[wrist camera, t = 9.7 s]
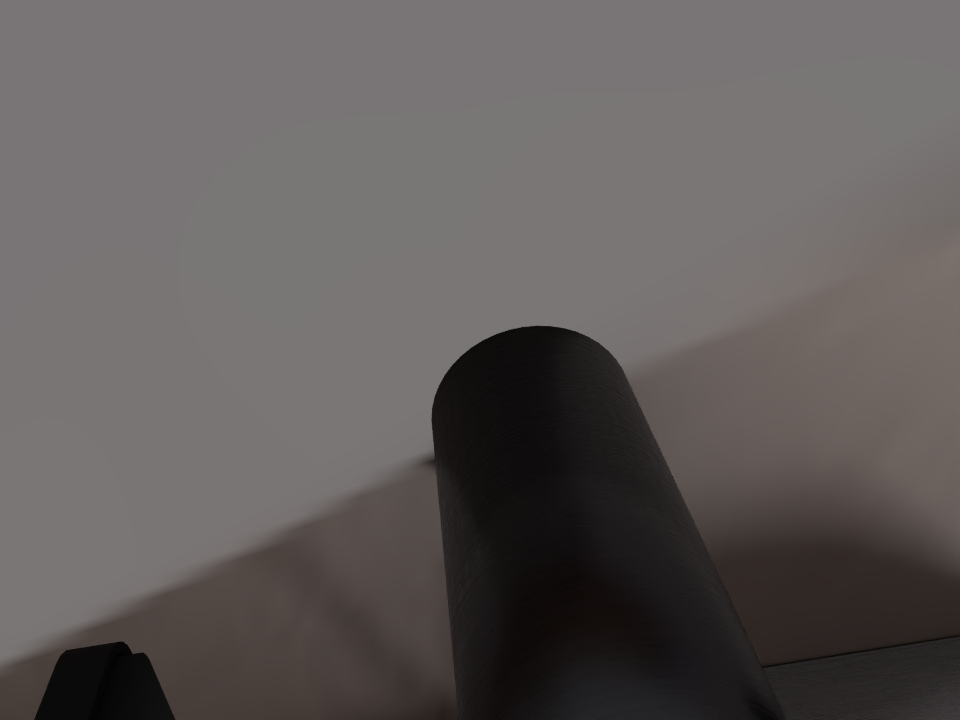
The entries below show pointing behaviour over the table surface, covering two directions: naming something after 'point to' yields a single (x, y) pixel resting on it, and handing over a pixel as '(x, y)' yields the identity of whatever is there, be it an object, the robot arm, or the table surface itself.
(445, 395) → the pin
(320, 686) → the table surface
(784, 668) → the fixed leaf
